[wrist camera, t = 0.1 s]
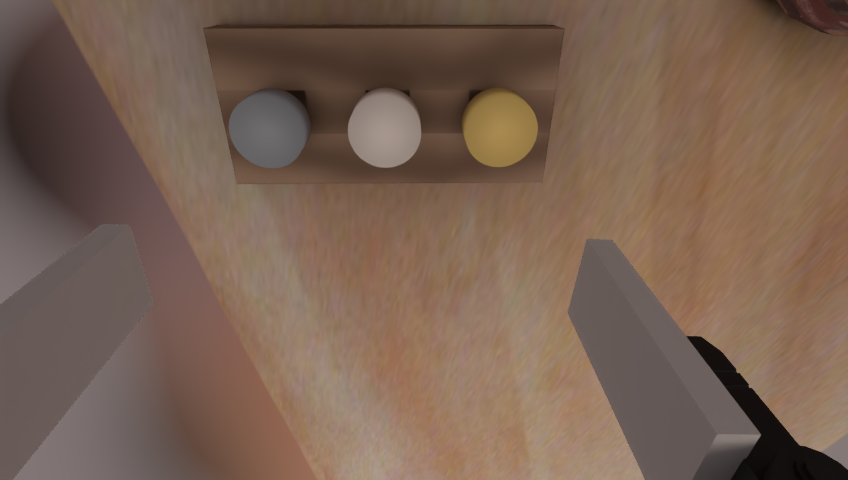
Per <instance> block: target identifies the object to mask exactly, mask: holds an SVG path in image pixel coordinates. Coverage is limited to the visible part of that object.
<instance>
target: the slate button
mask: <svg viewBox="0 0 848 480" xmlns="http://www.w3.org/2000/svg"><path fill="white" fill-rule="evenodd" d="M229 133H230V137H231V140H232V142H233V144H234V146H235V148H236V149H237V150H238V152H239V153H240V154H241V155H242V156H243V157H244V158H245V159H247V160H248V161H250V162H251V163H253V164H255V165H258V166H261V167H264V168H280V167H284V166H286V165H288V164H290V163H292V162H293V161H294V160H295V159H296V158H297V157H298V156H299V154H300V153H301V151H302V149H303V148H304V146H305V145H306V143H307V141H308V139H309V137H310V133H311V122H310V118H309V114H308V112H307V110H306V108H305V107H304V105H303V104H302V103H301V102H300V101H299V100H298V99H297V98H296V97H295V96H294V95H292V94H290V93H289V92H287V91H284V90H281V89H277V88H264V89H260V90H258V91H256V92H254V93H252V94H251V95H250V96H248V97H247V98H246V99H244V100H243V101H241V102H240V103H239V104H238V105H237V106H236V107H235V108H234V110H233V111H232V113H231V116H230V119H229Z"/></svg>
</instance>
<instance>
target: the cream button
mask: <svg viewBox="0 0 848 480" xmlns="http://www.w3.org/2000/svg"><path fill="white" fill-rule="evenodd" d="M348 138H349V141H350V144H351V146H352V148H353V150H354V151H355V153H356V154H357V155H358V156H359V157H360V158H361V159H362V160H363V161H365V162H367V163H368V164H371V165H373V166H376V167H381V168H390V167H395V166H398V165H401V164H403V163H405V162H406V161H408V160H409V159H410V158H411V157H412V156H413V155H414V153H415V152H416V151H417V149H418V147H419V144H420V140H421V121H420V114H419V111H418V109H417V107H416V105H415V103H414V102H413V101H412V100H411V98H410V97H408V96H407V95H406V94H404V93H403V92H401V91H399V90H396V89H392V88H378V89H374V90H371V91H370V92H368V93H366V94H365V95H364V96H362V97H361V98H360V100H359V101H358V102H357V104H356V106H355V108H354V110H353V112H352V115H351V117H350V120H349V123H348Z"/></svg>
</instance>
